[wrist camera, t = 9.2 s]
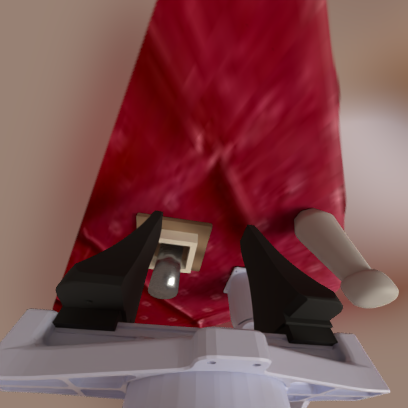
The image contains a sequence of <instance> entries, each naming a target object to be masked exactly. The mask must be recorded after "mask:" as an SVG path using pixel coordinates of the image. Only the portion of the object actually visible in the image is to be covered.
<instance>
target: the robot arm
mask: <svg viewBox="0 0 408 408" xmlns="http://www.w3.org/2000/svg"><path fill="white" fill-rule="evenodd" d="M162 219H163V212H161V211H154V212H153V213H152V214H151V215H150V217H149V218H148V219H147V220H146V221H145V222H144V223H143V224H141V225H140V226H139V227H138V228H137V229H136V230H135V231H133V232H132V233H131V234H130V235H128V236H127V237H126V238H124V239H123V240H121V241H120V242H118V243H117V244H115V245H113V246H112V247H110V248H108V249H106V250H105V251H103V252H101V253H99V254H97V255H95V256H93V257H90V258H88V259H86V260H83V261H81V262H79V263H76V264H75V265H74V266H73V267H72V268H71V269H70V270H69V271H68V273H67V274H66V275H65V276H64V278H63V279H62V280H61V282H60V283H59V284H58V286H57V287H56V293H57V296H58V298H59V299H60V301H61V303H62V305H63V307H62V308H61V310H60V311H59V313H58V312H56V311H54V310H45V309H32V308H30V309H27V311H26V312H25V313H24V314H23V315H22V317H21V318H20V319H19V320H18V322H17V323H16V324H15V325H14V326H13V328H12V329H11V330H10V331H9V333H8V334H7V335H6V336H5V338H4V339H3V340H2V341H1V342H0V391H4V392H6V391H7V392H30V393H49V394H62V395H74V396H86V397H98V398H111V399H123V400H124V403H123V406H122V408H307V406H308V404H309V402H310V401H327V400H328V401H331V400H332V401H334V400H335V401H336V400H344V401H345V400H346V401H358V400H362V399H366V398H370V397H374V396H378V395H382V394H386V393H390V389H389V388H388V386H387V385H386V383H385V382H384V380H383V378H382V377H381V375H380V374H379V372H378V371H377V369H376V368H375V366H374V364H373V363H372V361H371V360H370V358H369V357H368V355H367V353H366V352H365V350H364V349H363V347H362V346H361V344H360V342H359V341H358V339H357V338H356V336H355V335H354V334H351V333H334V334H333V332H332V330H331V329H330V328H332V327H333V326H332V324H331V322H330V320H331V319H332V318H334V317H335V316H336V315H337V314H339V313H340V312H341V311H342V309H343V305H342V304H341V302H340V301H339V299H338V298H337V296H336V295H335V293H334V292H333V291H331V290H330V289H328V288H326V287H325V286H323V285H321V284H320V283H318V282H316V281H315V280H313V279H312V278H310V277H309V276H307V275H306V274H305V273H303V272H302V271H301V270H299V269H298V268H297V267H295V266H294V265H293V264H292V263H290V262H289V261H288V260H287V259H286V258H285V257H284V256H282V255H281V254H280V253H279V252H278V251H277V250H276V249H275V248H274V247H273V246H272V245H271V244H270V242H269V241H268V240H267V239H266V238H265V237H264V236H263V235H262V233H261V232H260V231H259V230H258V229H257V228H256V227H255V226H254V225H247V227H246V229H245V231H244V234H243V236H242V238H241V240H240V245H241V253H242V257H243V261H244V265H245V268H242V267H235V268H234V270H233V272H232V274H231V276H230V278H229V280H228V282H227V284H226V286H225V288H224V290H223V292H224V293H228V300H229V308H230V316H231V322H232V325H233V327H234V328H225V327H205V328H191V327H177V326H164V325H150V324H137V323H134V322H135V318H136V314H137V310H138V306H139V302H140V298H141V294H142V290H143V287H144V283H145V279H146V276H147V272H148V269H149V266H150V263H151V261H152V258H153V255H154V253H155V250H156V248H157V245H158V242H159V239H160V235H161V231H162Z"/></svg>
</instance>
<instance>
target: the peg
mask: <svg viewBox="0 0 408 408" xmlns="http://www.w3.org/2000/svg"><path fill="white" fill-rule="evenodd" d="M182 254H183V246H182V245H174V244H167V243H161V245H160V249H159V252H158V256H157V259H156V263H155V266H154V270H153V273H152V277H151V280H150V284H149V288H148V292H149V294H150V295H152V296H153V297H156V298H159V299H170V298H173V297H175V296H176V295H177V293H178V286H179V278H180V270H181V262H182Z"/></svg>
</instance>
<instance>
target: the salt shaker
mask: <svg viewBox="0 0 408 408" xmlns="http://www.w3.org/2000/svg"><path fill="white" fill-rule="evenodd" d="M294 226H295V235H296V237H297V238H298V239H299V240H300V241H301V242H302V243H303V244H304V245H305V246H306V247H307V248H308V249H309V250H310V251H311V252H312V253H313V254H314V255H315V256H316V257H317V258H318V259H319V260H320V261H321V262H322V263H323V264H324V265H325V266H326V267H327V268H328V269H330V270H331V271H332V272H333V273H334V274H335V275H336V276H337V277H338V278H339V279H340V280H341V281H342V282H341V289H342V291H343V293H344V294H345V296H346V297H347V298H348V299H349V300H350V301H351V302H352V303H353V304H354V305H356V306H358V307H362V308H375V307H380V306H384V305H386V304H388V303H390V302H392V301H393V300H395V299H396V298H397V296H398V292H399V290H398V288H397V287H396V285H395V284H394V283H393V281H392V280H391V279H390V278H389V277H388V276H387V275H385V274H384V273H383V272H381V271H378V270H375V269H371V268H370V266H369V265H368V264H367V262H366V261H365V259H364V258H363V257H362V255H361V254H360V253H359V251H358V250H357V248H356V247H355V246H354V244H353V243H352V242H351V240H350V239H349V237H348V236H347V235H346V233H345V232H344V230H343V229H342V228H341V226H340V225H339V223H338V222H337V220H336V219H335V217H334V216H333V215H331V214H329V213H327V212H324V211H321V210H318V209H315V208H312V209H307V210H303V211H301V212H300V213H299V214H298V215H297V217H296V218H295V219H294Z"/></svg>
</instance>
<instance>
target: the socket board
mask: <svg viewBox="0 0 408 408" xmlns="http://www.w3.org/2000/svg"><path fill="white" fill-rule="evenodd" d="M149 217H150V214H143V213H138V214H137V215H136V221H137V228H138V227H139V226H140V225H141V224H143V223H144V222H145V221H146V220H147V219H148V218H149ZM211 230H212V224H210V223H204V222H197V221H190V220H183V219H177V218H170V217H163V219H162V231H161V235H160V239H159V242H158V245H157V248H156V250H155V253H154V255H153V258H152V261H151V263H150V266H149V269H154V266H155V263H156V259H157V256H158V252H159V249H160V245H161V243H167V244H174V245H182V246H183V254H182V262H181V270H180V272H184V273H190V272H191V270H193V271H199V270H200V267H201V263H202V260H203V257H204V253H205V250H206V246H207V243H208V240H209V236H210V233H211Z"/></svg>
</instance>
